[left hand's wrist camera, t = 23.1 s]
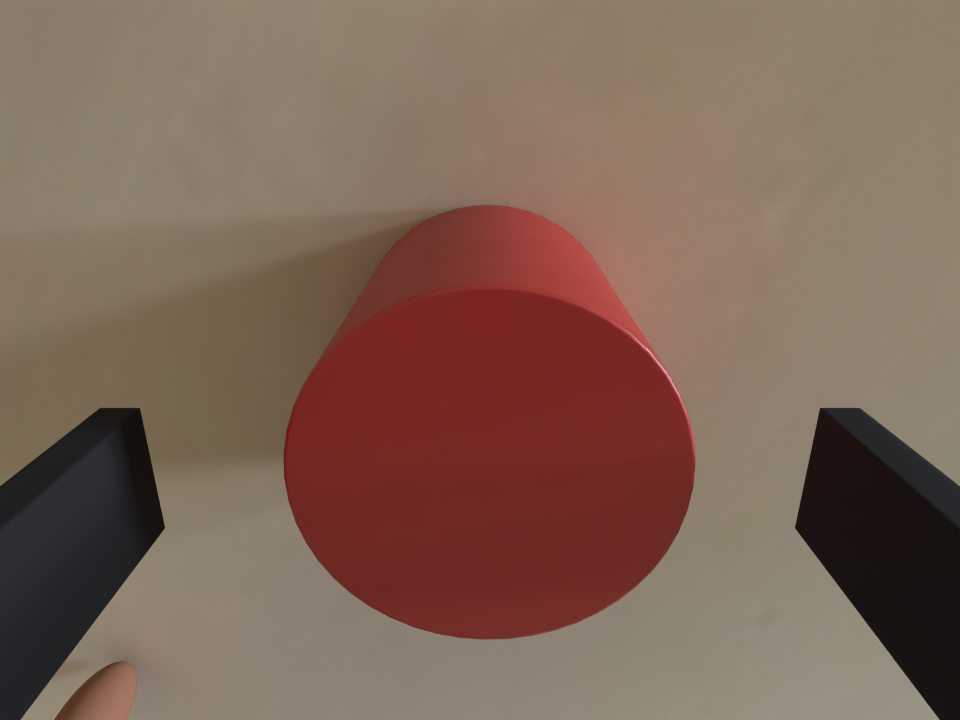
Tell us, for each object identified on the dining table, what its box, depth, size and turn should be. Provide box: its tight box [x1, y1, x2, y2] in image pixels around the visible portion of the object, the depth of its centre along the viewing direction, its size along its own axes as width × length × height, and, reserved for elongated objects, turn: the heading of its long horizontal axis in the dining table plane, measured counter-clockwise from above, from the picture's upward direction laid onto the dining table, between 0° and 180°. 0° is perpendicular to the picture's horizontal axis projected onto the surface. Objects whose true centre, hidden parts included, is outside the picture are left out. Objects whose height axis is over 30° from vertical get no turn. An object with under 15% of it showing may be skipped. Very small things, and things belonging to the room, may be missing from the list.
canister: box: [284, 205, 695, 639], centre depth 15 cm, size 7×7×8 cm
